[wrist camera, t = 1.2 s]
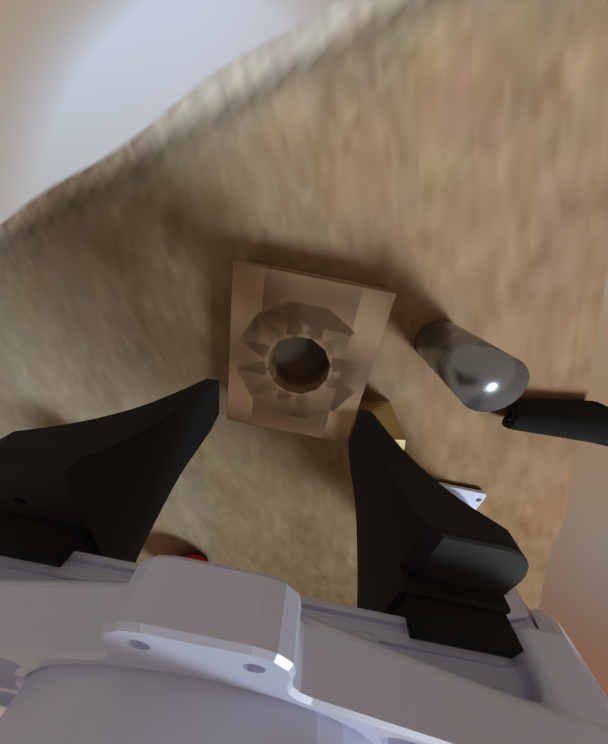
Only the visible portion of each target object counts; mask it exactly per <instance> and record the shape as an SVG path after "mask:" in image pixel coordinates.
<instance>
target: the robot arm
mask: <svg viewBox="0 0 608 744" xmlns="http://www.w3.org/2000/svg"><path fill="white" fill-rule="evenodd" d="M219 383H220V381H217V380H212V379H206V380H203V381H201V382H199V383H196V384H194V385H192V386H190V387H188V388H185V389H183V390H181V391H179V392H176V393H174V394H172V395H169V396H167V397H164V398H162V399H159V400H157V401H154V402H152V403H149V404H146V405H143V406H140V407H137V408H134V409H131V410H128V411H124V412H121V413H117V414H113V415H109V416H105V417H101V418H97V419H92V420H87V421H82V422H77V423H71V424H66V425H60V426H53V427H46V428H38V429H31V430H23V431H14V432H12V433H10V434H9V435H7V436H5V437H3V438H2V439H0V706H2V707H6V708H7V709H6V710H5V711H4V713H3V714H2V716H1V717H0V744H608V699H607V697H606V695H605V694H604V692H603V691H602V689H601V687H600V686H599V684H598V683H597V681H596V680H595V678H594V676H593V675H592V673H591V672H590V670H589V668H588V667H587V665H586V664H585V662H584V661H583V659H582V658H581V656H580V655H579V653H578V651H577V650H576V648H575V647H574V645H573V644H572V642H571V641H570V639H569V638H568V636H567V635H566V633H565V632H564V630H563V629H562V627H561V626H560V624H559V623H558V622H557V621H556V620H555V619H554V618H552V617H550V616H549V615H547V614H545V613H544V612H543V611H542V610H541V609H533V610H530V609H529V608H528V606H527V605H526V604H525V602H524V601H523V599H522V597H521V596H520V594H519V592H518V590H517V588H516V587H515V586H516V585H517V584H518V583H520V582H521V581H522V580H523V578H524V577H525V576H526V573H527V570H528V567H529V566H528V562H527V559H526V558H525V556H524V555H523V553H522V552H521V550H520V548H519V547H518V545H517V544H516V542H515V541H514V539H513V538H512V536H511V535H510V533H509V531H508V530H507V529H505V528H504V527H502V526H500V525H499V524H497V523H496V522H494V521H492V520H491V519H489V518H488V517H486V516H484V515H483V514H481V513H480V512H478V511H477V510H476V509H477V508H478V507H479V505H480V504H481V503H482V501H483V500H484V499H485V498H486V494H485V492H484V491H481V490H476V489H471V488H466V487H461V486H456V485H451V484H446V483H441V482H437V481H436V480H435V479H434V478H432V477H431V476H430V475H429V474H428V473H427V472H425V471H424V470H423V469H422V468H421V467H420V466H419V465H418V464H417V463H416V462H415V461H414V460H413V459H412V458H411V457H410V456H409V455H408V454H407V453H406V452H405V451H404V450H403V449H402V448H401V447H400V446H399V444H398V443H397V442H396V441H395V440H394V439H393V438H392V436H391V435H390V434H389V433H388V431H387V430H386V429H385V428H384V426H383V425H382V424H381V423H380V421H379V420H378V419H377V418H376V416H375V415H374V414H373V413H372V412H371V411H367V410H362V409H359V411H358V414H357V417H356V420H355V423H354V426H353V429H352V432H351V435H350V438H349V461H350V469H351V476H352V483H353V490H354V496H355V505H356V522H357V561H358V594H357V608H356V607H351V606H346V605H341V604H336V603H331V602H326V601H321V600H316V599H311V598H306V597H301V596H300V595H299V593H298V591H297V590H296V589H295V588H294V587H293V586H291V585H290V584H289V583H288V582H286V581H285V580H283V579H280V578H277V577H274V576H271V575H269V574H265V573H260V572H255V571H250V570H245V569H240V568H235V567H230V566H225V565H220V564H215V563H210V562H205V561H200V560H195V559H190V558H185V557H180V556H171V555H157V556H155V557H152V558H149V559H147V560H145V561H142V562H141V563H140V564H138V563H135V562H136V560H137V558H138V556H139V554H140V552H141V550H142V547H143V545H144V543H145V541H146V539H147V537H148V535H149V533H150V531H151V529H152V527H153V525H154V523H155V521H156V519H157V517H158V515H159V513H160V511H161V509H162V507H163V505H164V503H165V502H166V500H167V498H168V496H169V494H170V492H171V490H172V489H173V487H174V485H175V483H176V481H177V480H178V478H179V476H180V474H181V473H182V471H183V470H184V468H185V466H186V465H187V463H188V462H189V461H190V459H191V458H192V456H193V455H194V453H195V452H196V451H197V449H198V448H199V446H200V445H201V443H202V442H203V441H204V439H205V438H206V436H207V435H208V433H209V432H210V430H211V428H212V427H213V425H214V423H215V421H216V419H217V417H218V415H219Z"/></svg>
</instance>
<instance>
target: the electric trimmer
mask: <svg viewBox="0 0 608 744" xmlns="http://www.w3.org/2000/svg"><path fill="white" fill-rule="evenodd" d="M502 425H503V426H504V427H506V428H509V429H512V430H518V431H524V432H531V433H537V434H543V435H549V436H555V437H562V438H567V439H573V440H580V441H586V442H591V443H596V444H600V445H605V446H608V407H607V406H605V405H603V404H601V403H598V402H594V401H583V400H516V401H514V402H513V403H512V405H511V406H510V408H509V410H508V412H507V413H506V415H505V417H504V419H503V421H502Z"/></svg>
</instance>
